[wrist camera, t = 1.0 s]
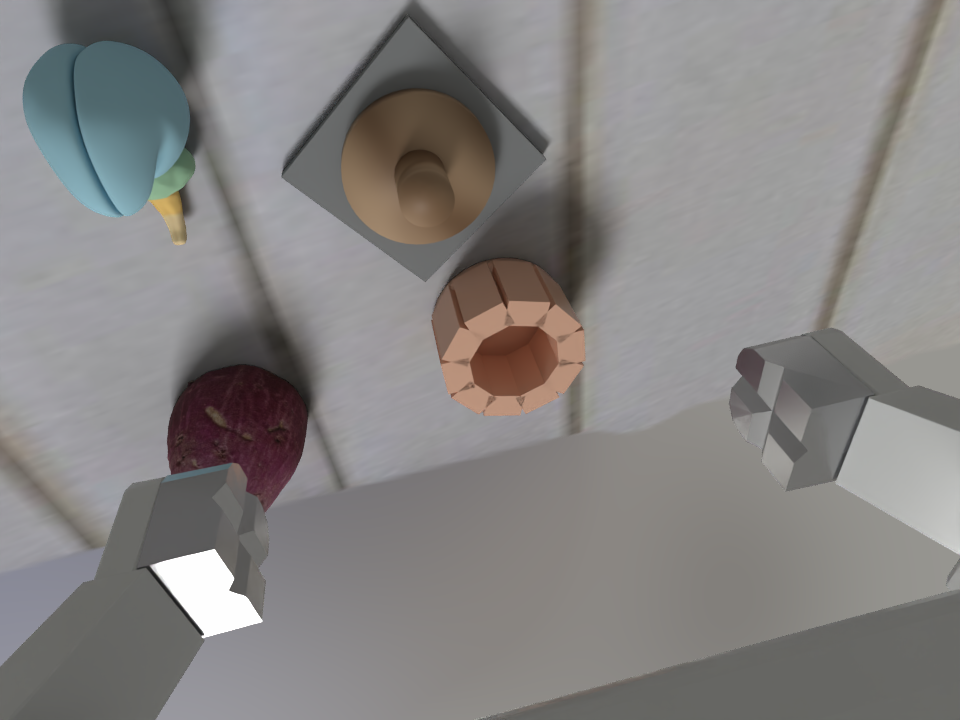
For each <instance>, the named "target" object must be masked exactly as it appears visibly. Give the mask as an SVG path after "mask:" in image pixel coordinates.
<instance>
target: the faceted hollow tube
mask: <svg viewBox="0 0 960 720" xmlns="http://www.w3.org/2000/svg"><path fill="white" fill-rule="evenodd" d="M432 318H433V320H431V321H432V326H433V331H434V335H435V340H436V344H437V349H438V354H439V358H440V363H441V367H442V371H443V375H444V379H445V382H446V386H447V390H448V394H451V398H452V399H454V400H456V401H457V402H459V403H461V404H462V405H464V406H466V407H467V408H469V409H471V410H472V411H474V412H476V413H477V414H480V413H481V412H482V411H483V414H484V416H503V415H520V414H521V410H522V409H523V410H524V412H525V413H526V414H527V413H529V412H531V411H533V410H535V409H537V408H539V407H541V406H543V405H545V404H547V403H549V402H551V401H553V400H555V399H557V398H559V395H558V393H557V392H560V393H563V394H564V392H565V391H566V390H567V388H568V387H569V386H570V384H571V383H572V381H573V380H574V379H575V377H576V376H577V374H578V373H579V372H580V370H581V369H582V367H583V366H584V365H583V363H582V362H583V361H585V343H584V329H583V328H582V325H581V324H580V322H579V320H578V318H577V316H576V314H575V313H574V311H573V309H572V307H571V305H570V304H569V302H568V300H567V298H566V296H565V294H564V293H563V291H562V289H561V287H560V285H559V284H558V283H556V282H555V281H554V280H553V279H552V278H551V276H550V275H549V274H548V273H547V272H546V271H544V270H543V269H542V268H540V267H539V266H537V265H536V264H533V263H531V262H528V261H525V260H521V259H515V258H497V259H490V260H487V261H483V262H480V263H477V264H475V265H472V266H471V267H469V268H467V269H465V270H463V271H462V272H461V273H459V274H458V275H457V276H455V277H454V278H453V279H452V280H451V281H450V282H449V283H448V284H447V285H446V286H445V288H444V289H443V291H442V292H441V294H440V296H439V298H438V300H437V302H436V305H435V308H434V312H433V314H432Z"/></svg>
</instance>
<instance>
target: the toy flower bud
mask: <svg viewBox="0 0 960 720" xmlns="http://www.w3.org/2000/svg"><path fill="white" fill-rule="evenodd" d="M23 108H24V114H25V118H26V122H27V125H28V127H29V129H30V132H31V134H32V136H33V138H34V140H35V142H36V143H37V145H38V147H39V149H40V150H41V152H42V154H43V155H44V157H45V158H46V160H47V161H48V163H49V165H50V166H51V168H52V169H53V171H54V172H55V173H56V175H57V176H58V178H59V179H60V180H61V182H62V183H63V184H64V185H65V187H66V188H67V189H68V190H69V191H70V193H71V194H72V195H73V196H74V197H75V198H76V199H77V200H78V201H80V202H81V203H82V204H83V205H85V206H86V207H87V208H89V209H91V210H92V211H94V212H97V213H99V214H102V215H105V216H110V217H121V216H123V215H125V216H131V215H133V214H135V213H136V212H138V211H139V210H140V209H141V208H142V207H143V206H144V205H145V204H146V202H147V201H150V202H151V203H152V204H153V205H154V206H155V208H156V209H157V210H158V211H159V212H160V213H161V215H162V216H163V218H164V220H165V222H166V224H167V226H168V228H169V231H170V234H171V238H172V241H173V243H174V244H175V245H183V244H185V243H186V240H187V234H186V225H185V221H184V217H183V210H182V202H181V198H180V194H179V191H178V190H180V189H181V188H183V187H184V186H185V184H186V183H187V182H188V180H189V179H190V178H191V177H192V175H193V174H194V171H195V161H194V158H193V156H192V155H191V153H190V152H189V151H188V150H187V149H185V148H184V147H185V144H186V141H187V137H188V133H189V127H190V111H189V106H188V102H187V99H186V96H185V94H184V92H183V90H182V88H181V86H180V85H179V83H178V82H177V80H176V79H175V78H174V76H173V75H172V74H171V73H170V72H169V71H168V70H167V69H166V68H165V67H164V66H163V65H162V64H161V63H160V62H159V61H158V60H156V59H155V58H154V57H152V56H151V55H149V54H148V53H146V52H144V51H142V50H140V49H138V48H136V47H134V46H131V45H128V44H124V43H120V42H114V41H100V42H96V43H93V44H91V45H89V46H88V47H84V46H82V45H78V44H62V45H58V46H55V47H53V48H51V49H50V50H48V51H47V52H46V53H45V54H43V55H42V56H41V57H40V59H39V60H38V61H37V62H36V63H35V64H34V66H33V67H32V69H31V70H30V72H29V74H28V76H27V78H26V80H25V84H24V88H23Z"/></svg>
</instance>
